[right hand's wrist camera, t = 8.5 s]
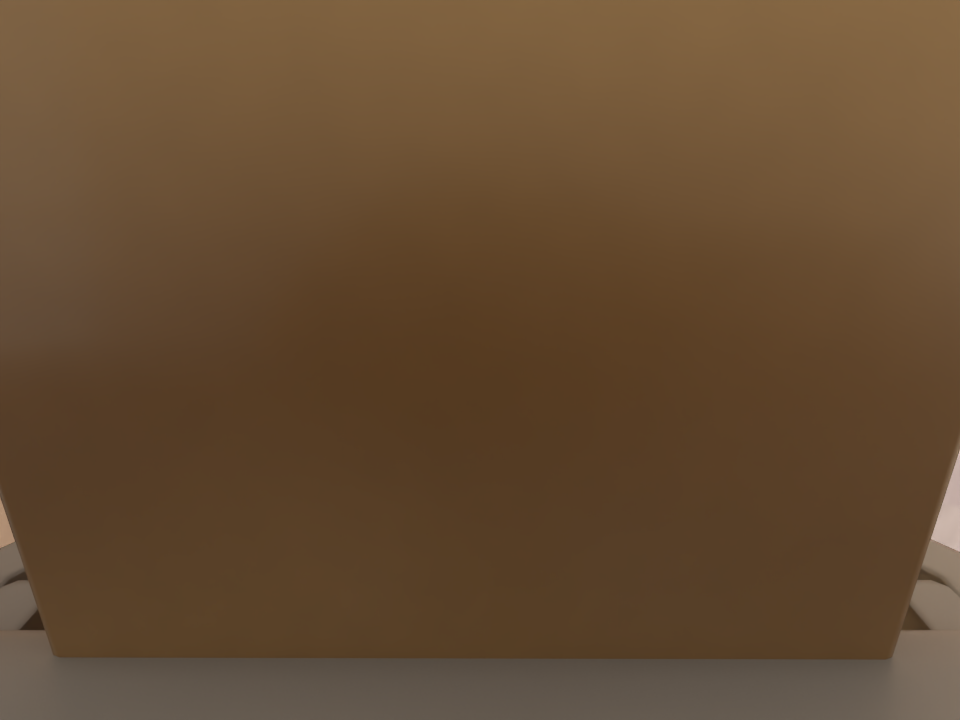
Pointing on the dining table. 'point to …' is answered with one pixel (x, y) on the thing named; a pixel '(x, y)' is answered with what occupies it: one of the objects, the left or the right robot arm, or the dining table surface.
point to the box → (478, 324)
